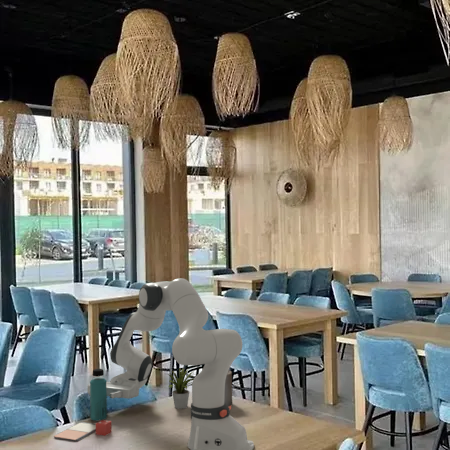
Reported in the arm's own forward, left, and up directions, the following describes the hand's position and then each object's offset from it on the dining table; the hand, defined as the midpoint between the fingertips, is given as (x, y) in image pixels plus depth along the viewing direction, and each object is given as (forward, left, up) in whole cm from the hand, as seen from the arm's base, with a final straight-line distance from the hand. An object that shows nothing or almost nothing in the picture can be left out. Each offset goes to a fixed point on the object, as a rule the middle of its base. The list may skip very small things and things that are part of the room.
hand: (100, 395), depth 227 cm
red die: (-9, +11, -10) cm, 18 cm away
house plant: (-21, -26, -10) cm, 35 cm away
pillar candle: (-35, -36, -10) cm, 51 cm away
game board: (0, +13, -10) cm, 17 cm away
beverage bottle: (0, +1, -10) cm, 10 cm away
